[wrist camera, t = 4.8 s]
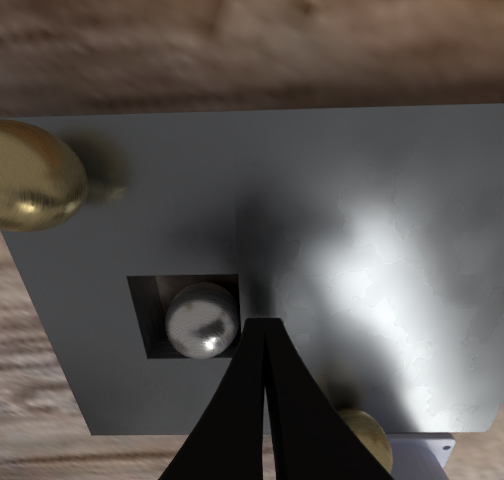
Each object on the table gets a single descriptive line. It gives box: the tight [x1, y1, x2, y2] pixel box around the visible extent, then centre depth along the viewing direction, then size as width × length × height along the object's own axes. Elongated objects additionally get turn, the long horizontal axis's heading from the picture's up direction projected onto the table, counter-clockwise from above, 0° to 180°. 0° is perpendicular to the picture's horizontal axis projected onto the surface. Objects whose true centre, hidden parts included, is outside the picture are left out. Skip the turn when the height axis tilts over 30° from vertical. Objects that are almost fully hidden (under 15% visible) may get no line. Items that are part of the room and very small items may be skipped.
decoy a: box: [337, 408, 393, 475], centre depth 11 cm, size 3×3×3 cm
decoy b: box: [0, 119, 88, 232], centre depth 7 cm, size 3×3×3 cm
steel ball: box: [165, 282, 240, 359], centre depth 11 cm, size 3×3×3 cm
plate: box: [0, 103, 504, 435], centre depth 12 cm, size 16×22×2 cm
